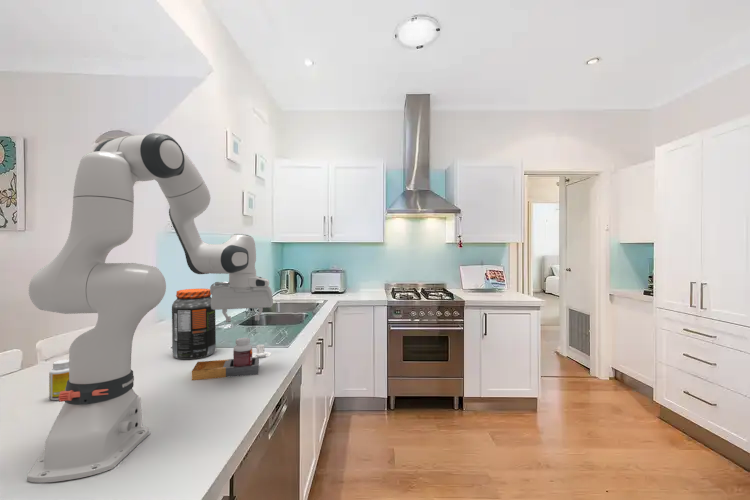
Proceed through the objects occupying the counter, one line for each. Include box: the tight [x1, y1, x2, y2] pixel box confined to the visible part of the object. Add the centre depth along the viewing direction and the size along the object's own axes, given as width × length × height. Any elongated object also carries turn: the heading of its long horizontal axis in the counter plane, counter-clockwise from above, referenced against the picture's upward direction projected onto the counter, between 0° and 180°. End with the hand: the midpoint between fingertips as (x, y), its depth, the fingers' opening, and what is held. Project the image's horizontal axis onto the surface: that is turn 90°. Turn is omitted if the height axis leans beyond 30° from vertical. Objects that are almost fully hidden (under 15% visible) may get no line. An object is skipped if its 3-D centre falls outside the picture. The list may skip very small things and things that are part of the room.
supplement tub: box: [171, 288, 217, 360], centre depth 150 cm, size 16×16×26 cm
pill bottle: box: [232, 337, 253, 367], centre depth 130 cm, size 6×6×11 cm
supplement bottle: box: [48, 359, 69, 401], centre depth 107 cm, size 6×6×10 cm
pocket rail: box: [191, 356, 260, 381], centre depth 128 cm, size 10×20×3 cm, turn 106°
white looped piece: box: [252, 344, 272, 359], centre depth 150 cm, size 9×8×4 cm
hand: (242, 321), depth 130 cm, fingers open, 8 cm apart
